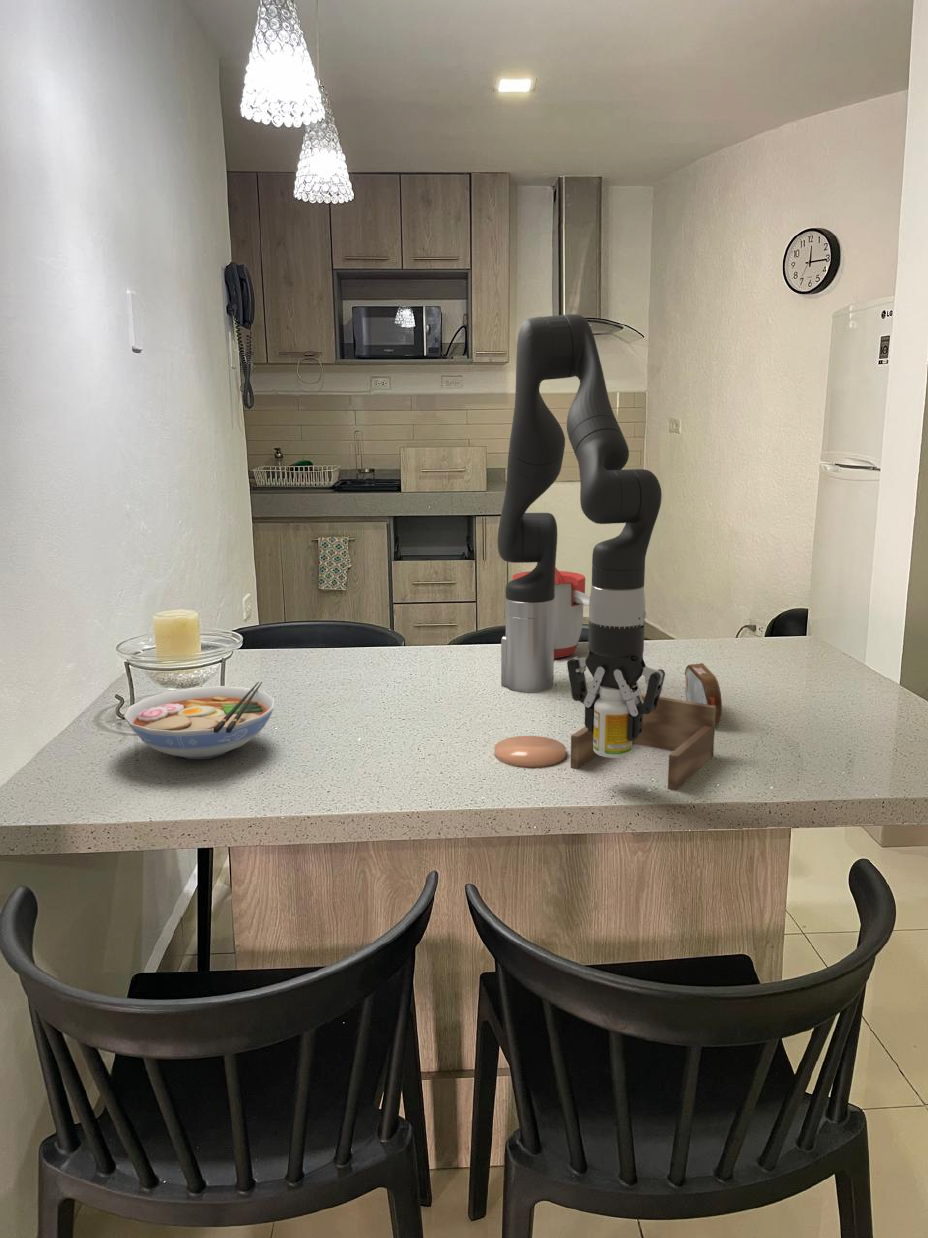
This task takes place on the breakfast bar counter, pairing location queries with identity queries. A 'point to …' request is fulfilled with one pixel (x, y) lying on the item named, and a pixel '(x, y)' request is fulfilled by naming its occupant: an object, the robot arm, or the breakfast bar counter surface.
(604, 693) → the supplement bottle
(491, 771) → the breakfast bar counter surface
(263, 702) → the ramen bowl
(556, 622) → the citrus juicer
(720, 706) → the tin
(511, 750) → the coaster
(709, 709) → the cubby
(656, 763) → the breakfast bar counter surface
